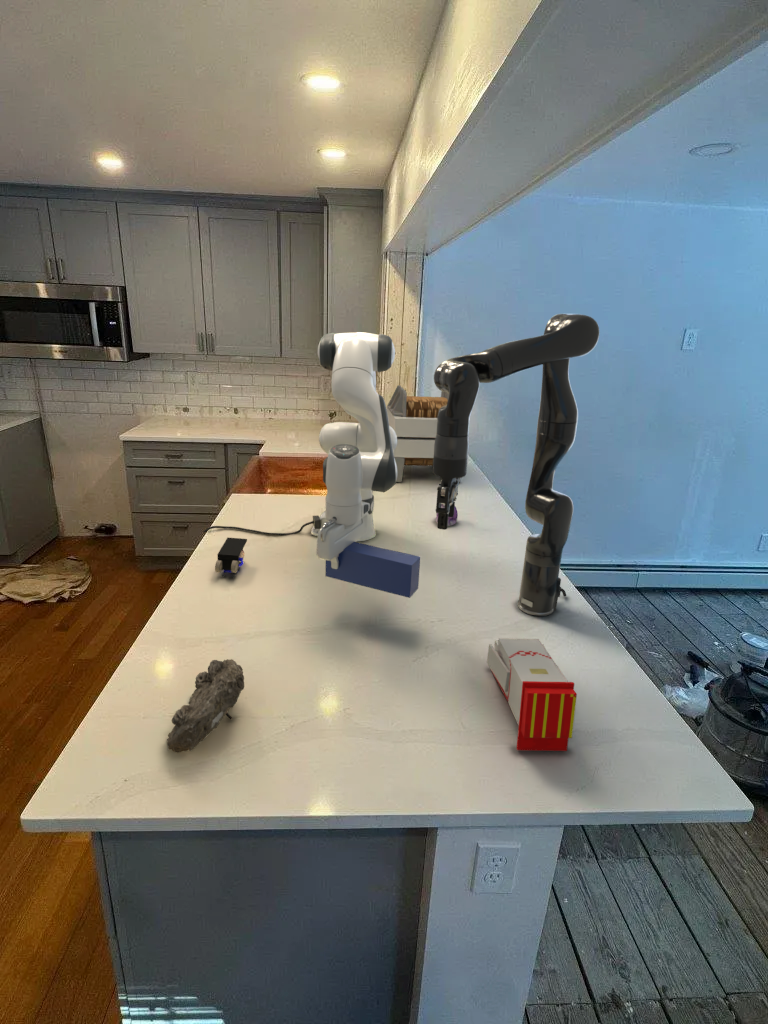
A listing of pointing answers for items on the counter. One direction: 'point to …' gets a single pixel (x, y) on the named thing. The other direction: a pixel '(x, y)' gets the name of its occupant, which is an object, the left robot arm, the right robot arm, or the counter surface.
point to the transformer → (414, 428)
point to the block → (377, 569)
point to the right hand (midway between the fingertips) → (445, 522)
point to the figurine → (450, 519)
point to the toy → (534, 693)
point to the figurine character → (230, 556)
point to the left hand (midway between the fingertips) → (342, 562)
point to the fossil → (206, 705)
